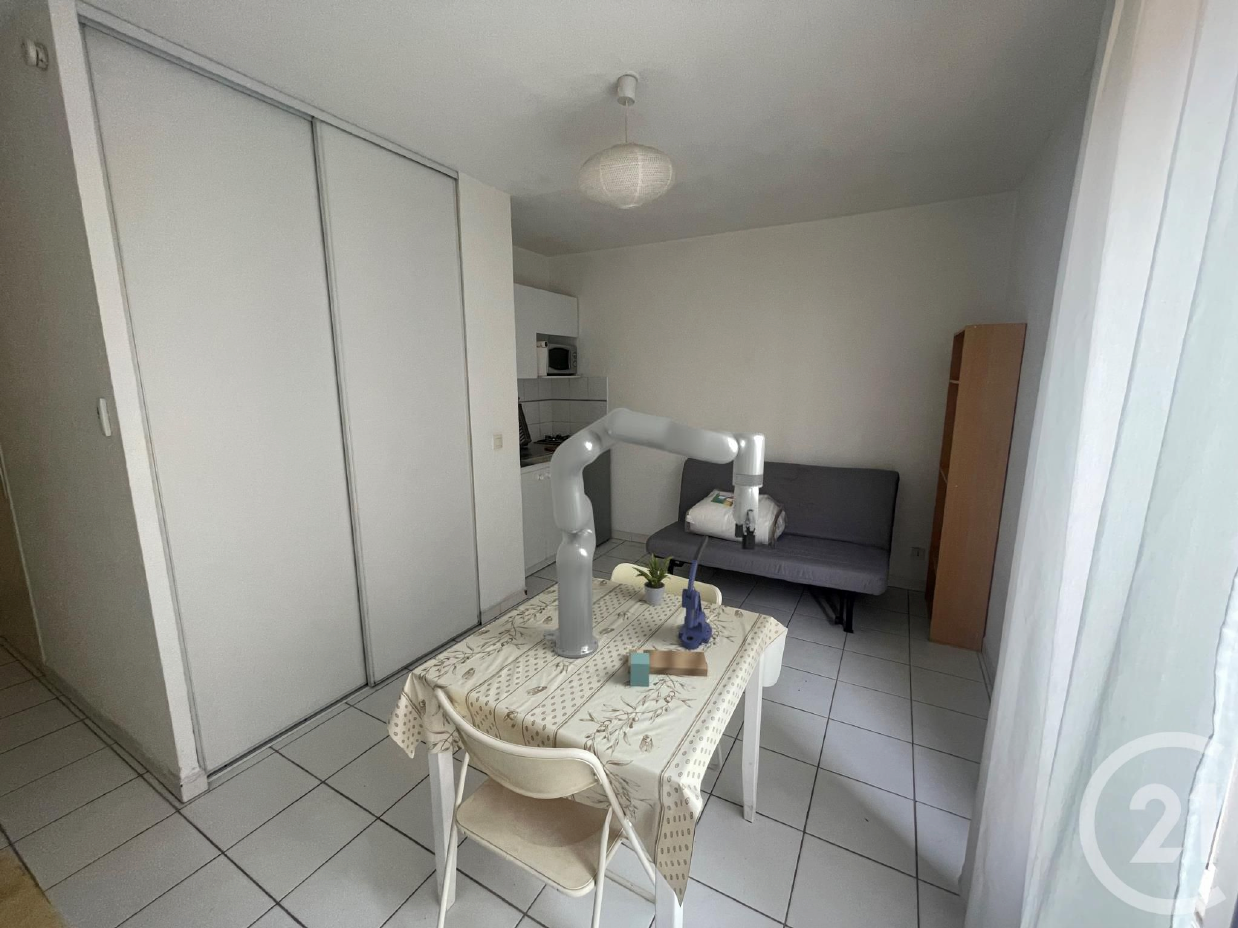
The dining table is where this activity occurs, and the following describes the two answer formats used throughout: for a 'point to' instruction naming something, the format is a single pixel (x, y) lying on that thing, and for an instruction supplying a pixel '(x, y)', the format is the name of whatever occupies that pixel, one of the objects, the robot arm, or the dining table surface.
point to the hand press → (694, 610)
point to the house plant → (654, 580)
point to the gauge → (639, 669)
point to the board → (674, 662)
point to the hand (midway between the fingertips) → (744, 543)
